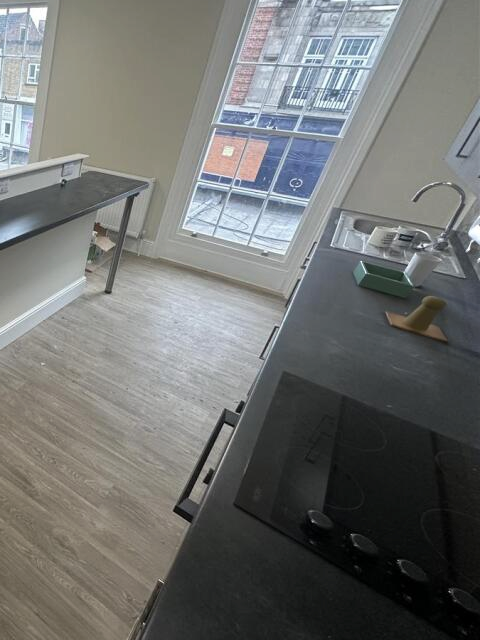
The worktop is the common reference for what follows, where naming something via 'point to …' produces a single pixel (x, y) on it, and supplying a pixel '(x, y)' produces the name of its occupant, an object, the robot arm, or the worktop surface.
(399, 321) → the mat
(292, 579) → the worktop surface
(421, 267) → the cup
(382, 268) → the basin
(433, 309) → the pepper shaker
